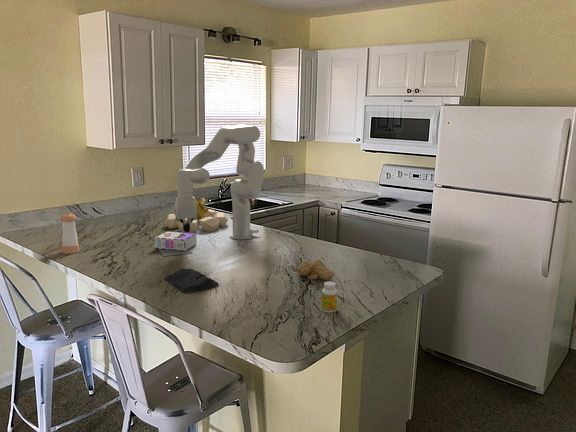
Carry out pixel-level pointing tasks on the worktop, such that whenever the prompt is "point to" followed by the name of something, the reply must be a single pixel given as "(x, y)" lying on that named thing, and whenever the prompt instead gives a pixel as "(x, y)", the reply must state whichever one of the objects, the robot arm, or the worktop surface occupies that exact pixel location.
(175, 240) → the candy box
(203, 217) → the campfire
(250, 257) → the worktop surface
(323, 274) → the ginger root
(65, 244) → the salt shaker
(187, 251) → the mat
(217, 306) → the worktop surface
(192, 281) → the dark slate chunk
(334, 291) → the supplement bottle
